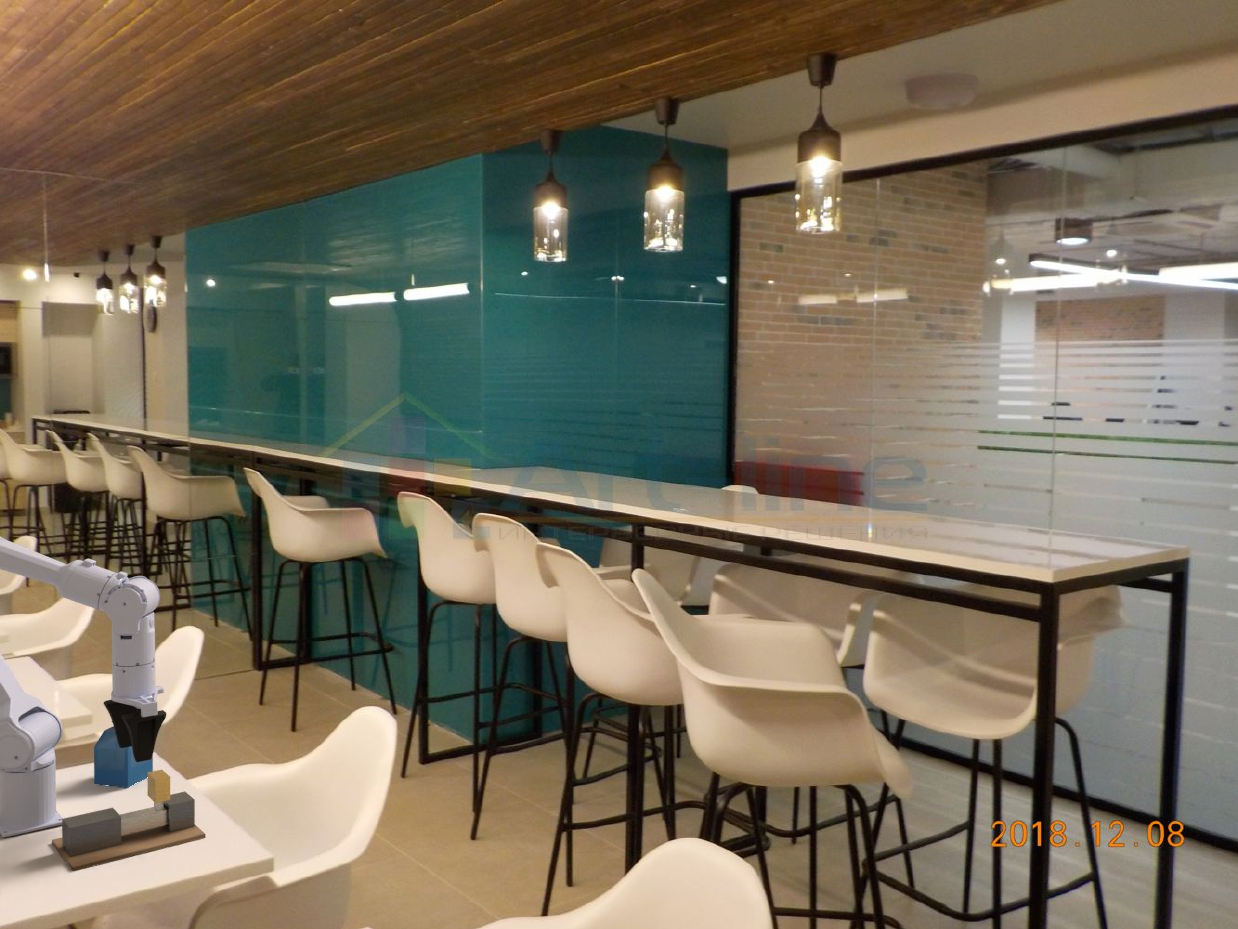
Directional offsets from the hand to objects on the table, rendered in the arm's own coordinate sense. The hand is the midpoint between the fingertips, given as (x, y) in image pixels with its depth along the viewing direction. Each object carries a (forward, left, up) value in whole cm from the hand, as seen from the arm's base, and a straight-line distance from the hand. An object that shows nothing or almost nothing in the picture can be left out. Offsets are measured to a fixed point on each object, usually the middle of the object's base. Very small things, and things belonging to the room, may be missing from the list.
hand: (135, 753), depth 154 cm
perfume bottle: (-19, +4, -11) cm, 22 cm away
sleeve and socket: (+6, -3, -10) cm, 12 cm away
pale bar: (+6, 0, -9) cm, 11 cm away
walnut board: (+6, -3, -10) cm, 12 cm away
